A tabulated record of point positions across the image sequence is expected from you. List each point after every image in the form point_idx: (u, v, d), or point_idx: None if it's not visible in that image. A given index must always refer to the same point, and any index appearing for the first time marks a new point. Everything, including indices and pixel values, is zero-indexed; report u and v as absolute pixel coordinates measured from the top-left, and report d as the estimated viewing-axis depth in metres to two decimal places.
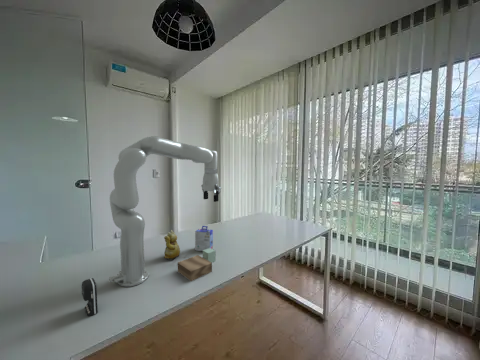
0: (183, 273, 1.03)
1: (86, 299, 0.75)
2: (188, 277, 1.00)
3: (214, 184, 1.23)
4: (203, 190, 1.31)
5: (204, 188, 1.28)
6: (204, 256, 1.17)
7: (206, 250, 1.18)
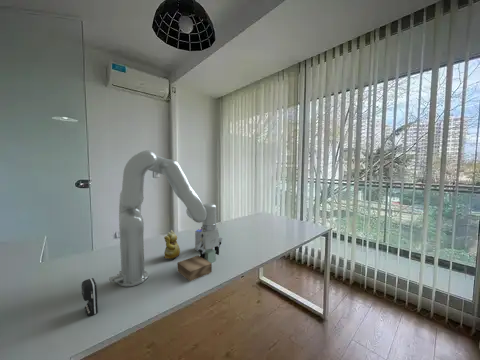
0: (183, 273, 1.03)
1: (86, 299, 0.75)
2: (187, 277, 1.00)
3: None
4: (203, 251, 1.13)
5: (209, 247, 1.14)
6: None
7: (206, 250, 1.18)
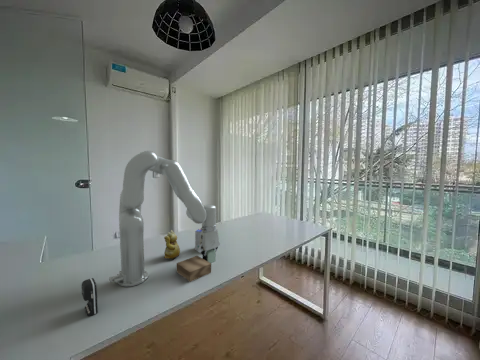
0: (182, 274, 1.02)
1: (86, 299, 0.75)
2: (187, 278, 0.99)
3: None
4: (204, 253, 1.14)
5: (208, 248, 1.14)
6: None
7: None
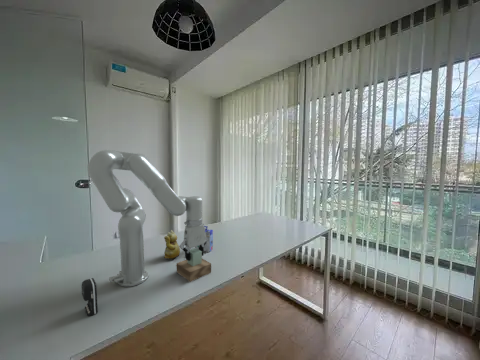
0: (182, 274, 1.02)
1: (86, 299, 0.75)
2: (187, 278, 0.99)
3: None
4: (187, 250, 1.02)
5: (193, 245, 1.02)
6: None
7: (191, 250, 1.06)
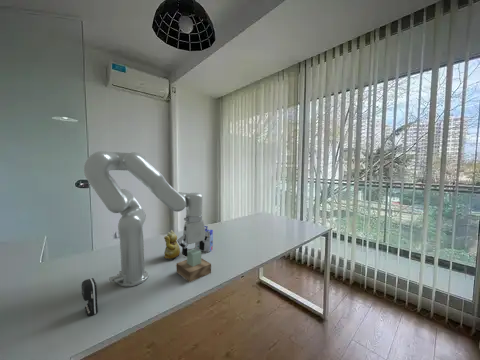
0: (182, 274, 1.02)
1: (86, 299, 0.75)
2: (187, 278, 0.99)
3: None
4: (185, 245, 1.01)
5: (192, 241, 1.02)
6: (189, 257, 1.04)
7: (190, 251, 1.06)
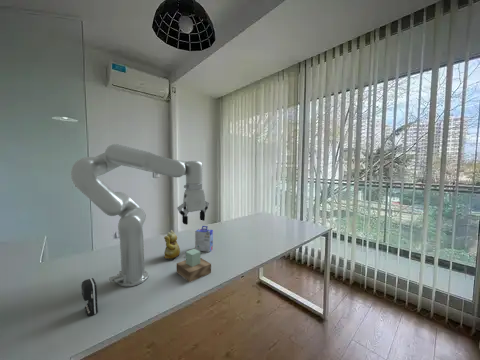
0: (182, 274, 1.02)
1: (86, 299, 0.75)
2: (187, 278, 0.99)
3: None
4: (185, 213, 0.99)
5: (192, 209, 1.00)
6: (188, 258, 1.04)
7: (190, 251, 1.05)
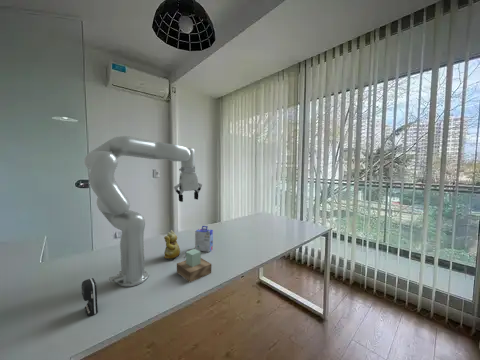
0: (182, 274, 1.02)
1: (86, 299, 0.75)
2: (187, 278, 0.99)
3: None
4: (180, 192, 1.17)
5: (187, 188, 1.18)
6: (188, 258, 1.04)
7: (190, 251, 1.05)
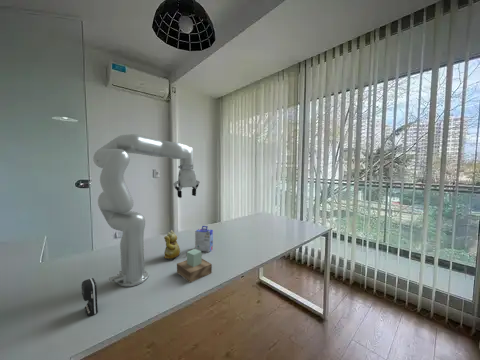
0: (182, 274, 1.02)
1: (86, 299, 0.75)
2: (187, 278, 0.99)
3: None
4: (179, 188, 1.23)
5: (185, 185, 1.24)
6: (189, 258, 1.04)
7: (191, 251, 1.05)
